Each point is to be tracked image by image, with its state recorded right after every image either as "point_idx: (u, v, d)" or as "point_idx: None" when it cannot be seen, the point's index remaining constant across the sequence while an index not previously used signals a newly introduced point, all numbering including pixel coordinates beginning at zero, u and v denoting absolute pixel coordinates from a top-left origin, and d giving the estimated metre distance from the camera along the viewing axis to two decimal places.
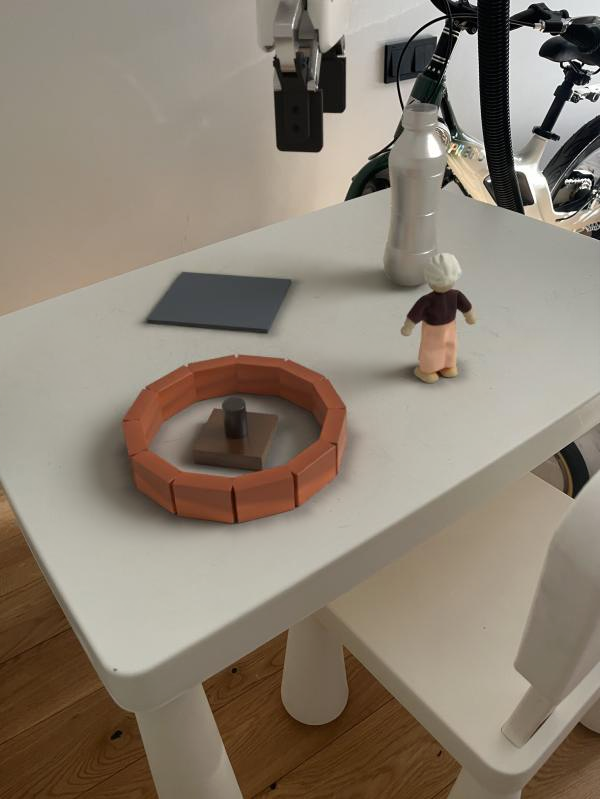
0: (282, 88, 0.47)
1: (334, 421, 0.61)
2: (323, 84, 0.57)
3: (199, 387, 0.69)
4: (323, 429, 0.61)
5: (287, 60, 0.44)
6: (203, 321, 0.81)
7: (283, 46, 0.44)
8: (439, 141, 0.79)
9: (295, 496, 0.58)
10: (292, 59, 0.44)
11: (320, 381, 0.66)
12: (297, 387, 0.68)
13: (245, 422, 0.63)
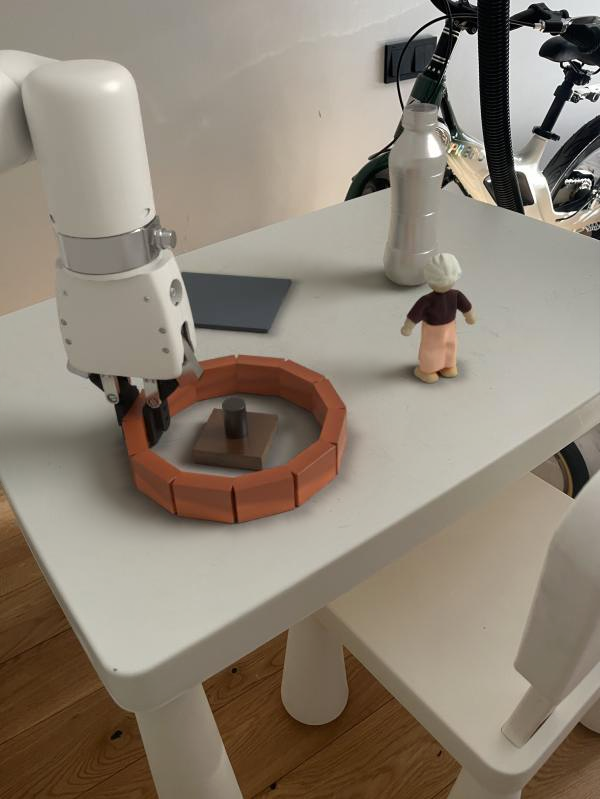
0: None
1: (334, 421, 0.61)
2: None
3: (199, 387, 0.69)
4: (323, 429, 0.61)
5: None
6: (203, 321, 0.81)
7: None
8: (439, 141, 0.79)
9: (295, 496, 0.58)
10: (89, 377, 0.63)
11: (320, 381, 0.66)
12: (297, 387, 0.68)
13: (245, 422, 0.63)
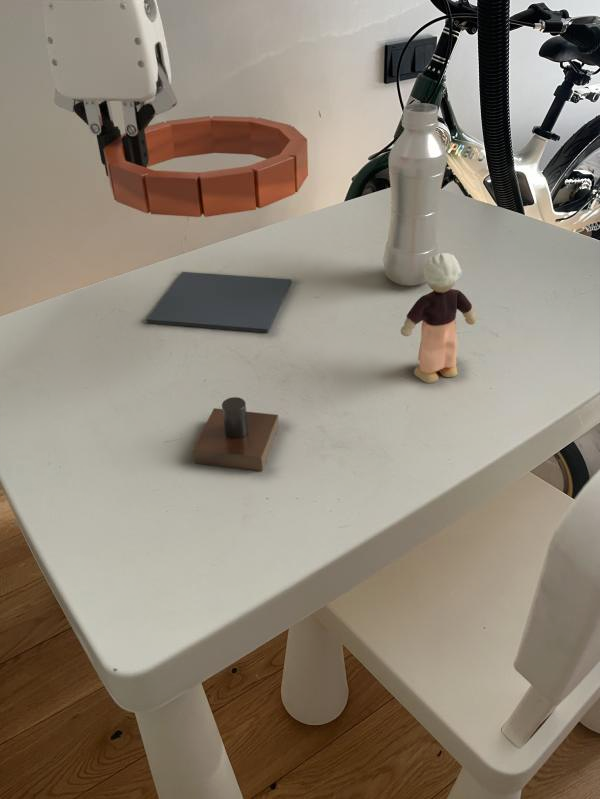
0: None
1: (295, 145, 0.68)
2: None
3: (176, 142, 0.76)
4: (284, 149, 0.67)
5: None
6: (203, 321, 0.81)
7: None
8: (439, 141, 0.79)
9: (256, 197, 0.64)
10: (74, 111, 0.70)
11: (285, 127, 0.73)
12: (266, 138, 0.74)
13: (245, 422, 0.63)
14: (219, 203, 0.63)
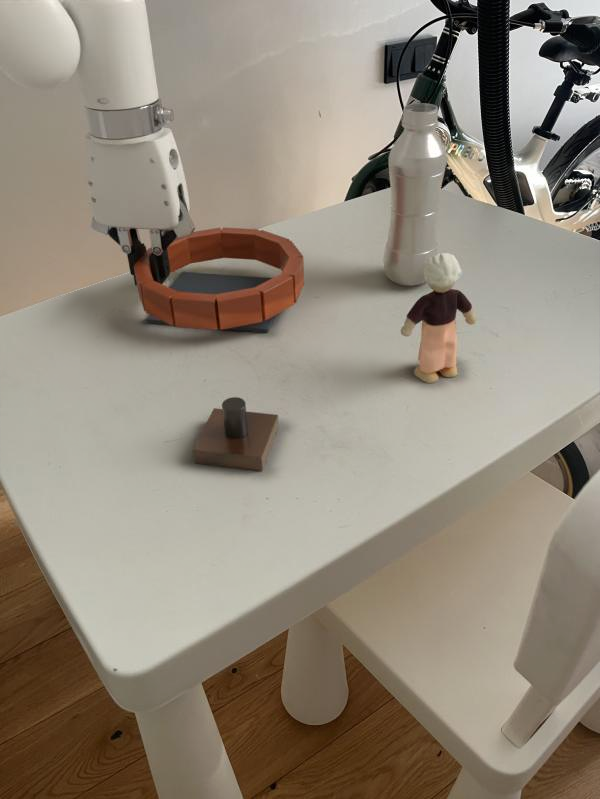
0: None
1: (293, 263, 0.82)
2: None
3: (192, 251, 0.90)
4: (284, 268, 0.81)
5: None
6: None
7: None
8: (439, 141, 0.79)
9: (262, 312, 0.78)
10: (108, 234, 0.83)
11: (285, 242, 0.87)
12: (268, 249, 0.88)
13: (245, 422, 0.63)
14: (232, 319, 0.77)
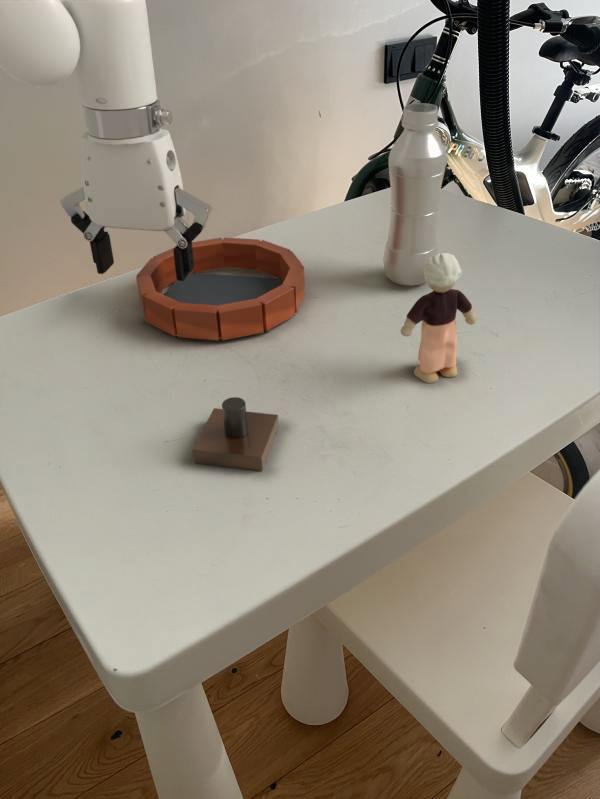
0: None
1: (294, 274, 0.82)
2: None
3: None
4: (285, 279, 0.82)
5: None
6: None
7: None
8: (439, 141, 0.79)
9: (264, 322, 0.79)
10: (70, 216, 0.83)
11: (285, 252, 0.87)
12: (269, 259, 0.89)
13: (245, 422, 0.63)
14: (234, 329, 0.78)
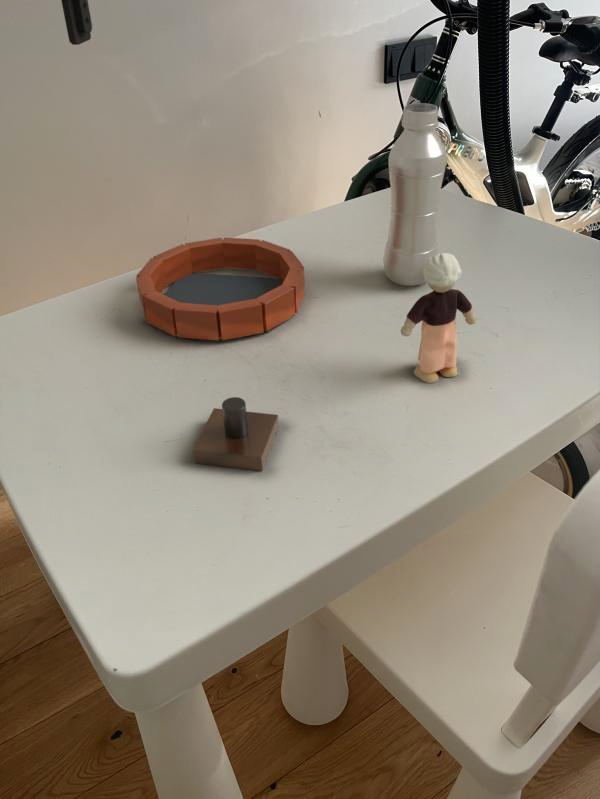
0: None
1: (294, 274, 0.82)
2: None
3: (193, 261, 0.90)
4: (285, 279, 0.82)
5: None
6: None
7: None
8: (439, 141, 0.79)
9: (264, 322, 0.79)
10: None
11: (285, 252, 0.87)
12: (269, 259, 0.89)
13: (245, 422, 0.63)
14: (234, 329, 0.78)
